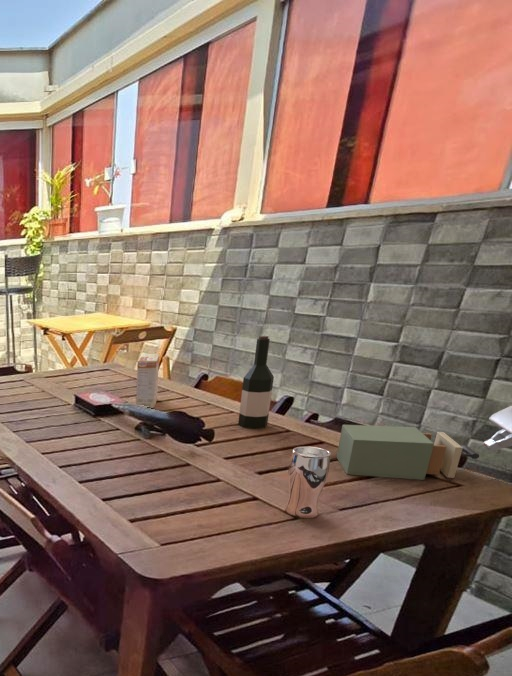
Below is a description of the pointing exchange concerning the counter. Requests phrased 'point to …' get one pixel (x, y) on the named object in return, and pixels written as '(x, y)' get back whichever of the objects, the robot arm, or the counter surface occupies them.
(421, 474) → the cabinet
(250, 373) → the wine bottle
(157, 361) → the coffeecake box
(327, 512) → the counter surface
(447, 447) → the drawer
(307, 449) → the beer glass
